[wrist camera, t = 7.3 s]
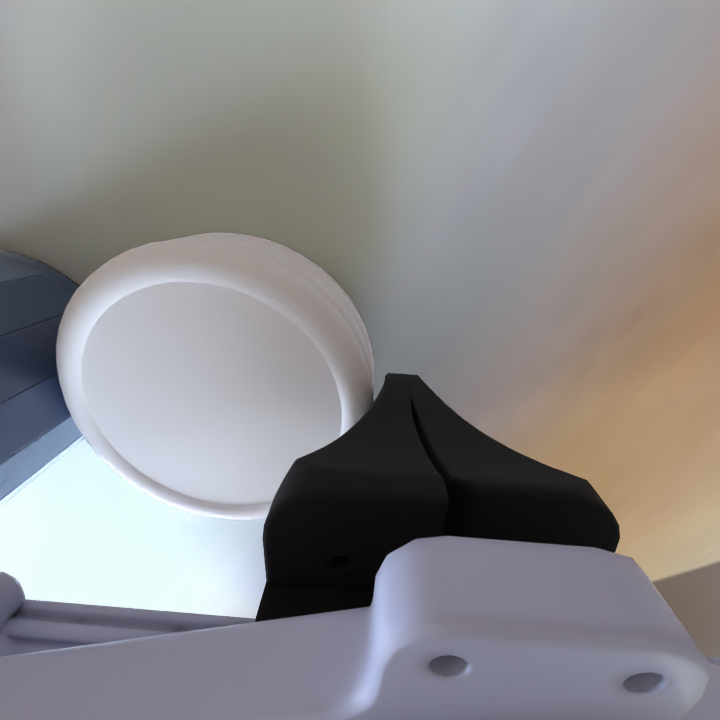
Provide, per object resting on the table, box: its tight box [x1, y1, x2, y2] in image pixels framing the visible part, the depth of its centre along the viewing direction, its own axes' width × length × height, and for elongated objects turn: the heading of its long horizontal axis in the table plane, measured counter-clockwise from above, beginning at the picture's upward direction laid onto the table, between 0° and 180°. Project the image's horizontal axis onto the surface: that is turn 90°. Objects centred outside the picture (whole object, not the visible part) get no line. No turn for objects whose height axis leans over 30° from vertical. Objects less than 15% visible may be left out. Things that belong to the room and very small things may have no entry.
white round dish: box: [56, 232, 374, 520], centre depth 12 cm, size 10×10×4 cm
